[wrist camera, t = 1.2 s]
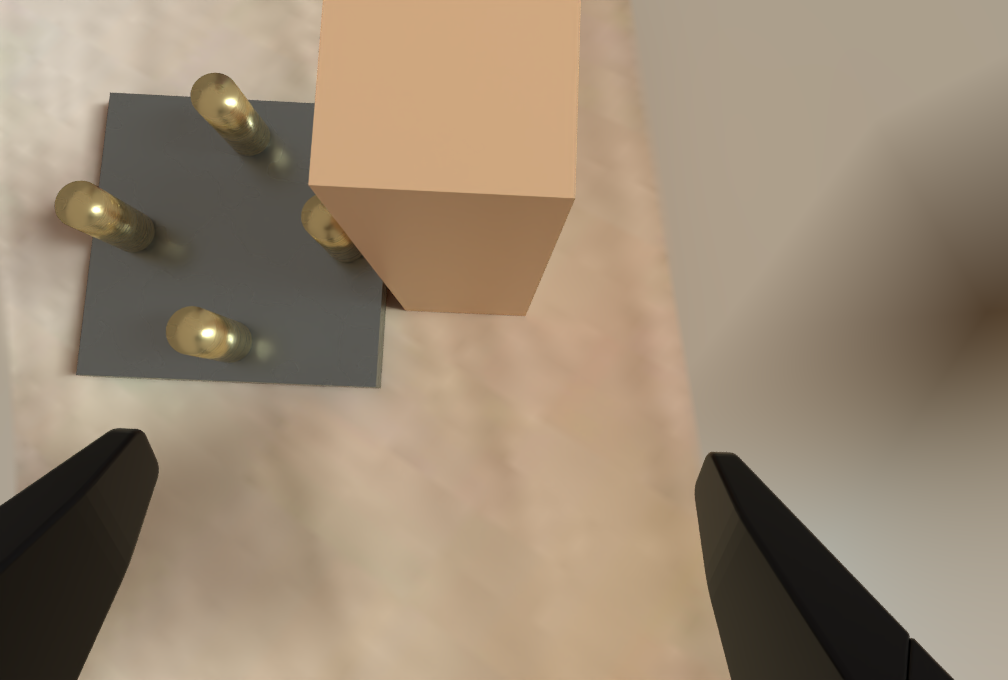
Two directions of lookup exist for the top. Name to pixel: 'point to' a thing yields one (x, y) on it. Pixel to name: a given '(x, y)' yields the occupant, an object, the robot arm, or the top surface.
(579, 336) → the top surface
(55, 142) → the top surface
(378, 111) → the block
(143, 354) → the chassis
